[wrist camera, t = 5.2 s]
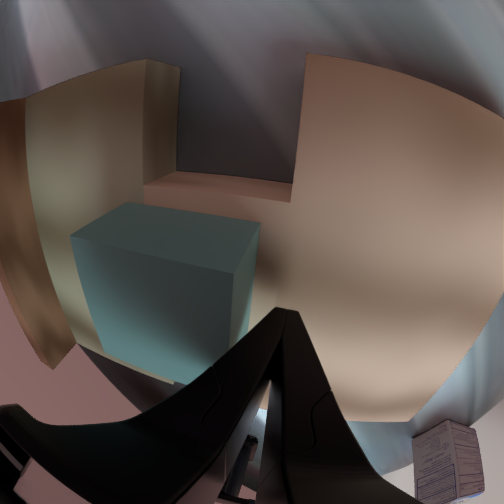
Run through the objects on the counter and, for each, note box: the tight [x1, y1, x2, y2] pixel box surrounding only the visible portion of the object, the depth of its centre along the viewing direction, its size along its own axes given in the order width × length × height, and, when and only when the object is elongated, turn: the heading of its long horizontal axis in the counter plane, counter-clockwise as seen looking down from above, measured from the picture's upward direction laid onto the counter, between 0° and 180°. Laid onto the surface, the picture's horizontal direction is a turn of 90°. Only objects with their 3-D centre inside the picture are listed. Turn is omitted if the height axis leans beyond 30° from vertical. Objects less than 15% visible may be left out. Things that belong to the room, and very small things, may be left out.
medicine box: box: [412, 420, 485, 504], centre depth 12 cm, size 8×4×9 cm, turn 59°
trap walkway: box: [0, 53, 504, 422], centre depth 10 cm, size 16×24×6 cm, turn 85°
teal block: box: [69, 202, 261, 385], centre depth 9 cm, size 5×5×3 cm
